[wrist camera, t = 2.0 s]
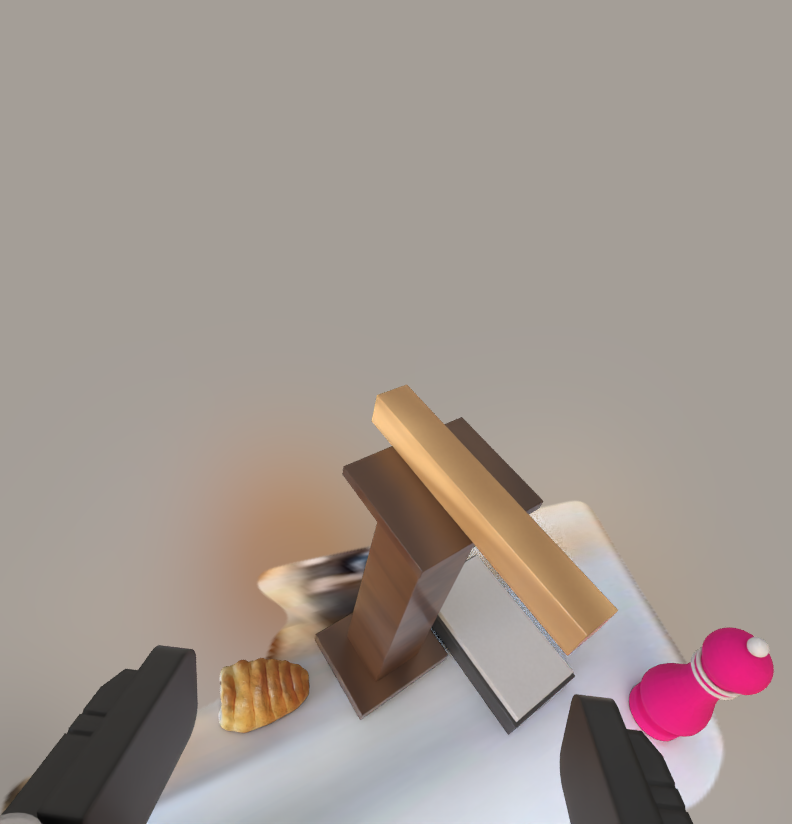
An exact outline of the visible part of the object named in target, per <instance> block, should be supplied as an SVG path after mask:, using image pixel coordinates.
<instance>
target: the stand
mask: <svg viewBox="0 0 792 824" xmlns="http://www.w3.org/2000/svg"><path fill="white" fill-rule="evenodd" d="M444 425H445V426H446V427H447V428H448V429H449V430H450V431H451V432H452V433H453V434H454V435H455V436H456V437H457V439H458V440H459V441H460V442H461V443H462V444H463V445H464V446H465V447H466V448H467V449H468V450H469V451H470V452H471V454H472V455H473V456H474V457H475V458H476V459H477V460H478V461H479V462H480V463H481V464H482V465H483V466H484V467H485V468H486V470H487V471H488V472H489V473H490V474H491V475H492V476H493V477H494V478H495V479H496V480H497V481H498V482H499V483H500V485H501V486H502V487H503V488H504V489H505V490H506V491H507V492H508V493H509V494H510V495H511V496H512V497H513V498H514V499H515V501H516V502H517V503H518V504H519V505H520V506H521V507H522V508H523V509H524V510H525V511H526V512H527V513H528V514H530V513H532V512H534V511H536V510H537V509H539V508H540V506H541V504H542V503H543V500H542V499H541V498H540V497H539V496H538V495H537V494H536V493H535V492H534V491H533V490H532V489H531V488H530V487H529V486H528V485H527V484H526V483H525V482H524V481H523V480H522V479H521V477H520V476H519V475H518V474H517V473H515V471H514V470H513V469H512V468H511V467H510V466H509V465H508V464H507V463H506V462H505V461H504V460H503V459H502V458H501V457H500V456H499V455H498V454H497V453H496V452H495V451H494V450H493V449H492V448H491V447H490V446H489V445H488V444H487V443H486V441H484V439H483V438H481V436H480V435H479V434H478V433H477V432H476V431H475V430H474V429H473V428H472V427H471V426H470V425H469V424H468V423H467V422H466V421H465V420H464V419H463V418H462V417H461V418H459V419H456V420H454V421H451V422H449V423H447V424H444ZM343 476H344V477H345V478H346V480H347V481H348V483H349V484H350V485H351V487H352V488H353V489H354V491H355V492H356V493H357V495H358V496H359V498H360V499H361V500H362V501H363V503H364V504H365V506H366V507H367V509H368V510H369V511H370V513H371V514H372V515H373V517H374V518H375V519H376V521H377V525H376V529H375V533H374V537H373V540H372V544H371V548H370V552H369V555H368V559H367V563H366V567H365V570H364V574H363V578H362V582H361V585H360V589H359V593H358V597H357V600H356V604H355V608H354V612H353V613H351V614H350V615H348V616H346V617H344V618H343V619H341V620H339V621H338V622H336V623H334V624H333V625H331V626H329V627H327V628H326V629H324V630H322V631H321V632H319V633H317V634H316V636H315V641H316V643H317V644H318V646H319V648H320V650H321V651H322V653H323V655H324V657H325V658H326V660H327V662H328V664H329V665H330V667H331V669H332V671H333V672H334V674H335V676H336V678H337V679H338V681H339V683H340V685H341V687H342V688H343V690H344V692H345V694H346V695H347V697H348V699H349V701H350V702H351V704H352V706H353V708H354V709H355V711H356V713H357V715H358V716H359V718H360V720H361V719H363V718H364V717H365V716H367V715H368V714H370V713H371V712H372V711H374V710H375V709H377V708H378V707H379V706H381V705H382V704H384V703H385V702H386V701H388V700H389V699H391V698H392V697H393V696H395V695H396V694H398V693H399V692H400V691H402V690H403V689H405V688H406V687H407V686H409V685H410V684H412V683H413V682H414V681H416V680H417V679H419V678H420V677H421V676H423V675H424V674H426V673H427V672H428V671H430V670H431V669H433V668H434V667H435V666H437V665H438V664H440V663H441V662H442V661H444V660H445V659H446V657H447V656H448V654H447V652H446V651H445V650H444V648H443V647H442V645H441V644H440V642H439V641H438V640H437V638H436V637H435V635H434V634H433V632H432V631H431V630H430V629H431V627H432V625H433V623H434V621H435V619H436V617H437V616H438V614H439V612H440V610H441V608H442V606H443V604H444V602H445V600H446V598H447V596H448V594H449V592H450V590H451V588H452V587H453V585H454V583H455V581H456V579H457V577H458V575H459V573H460V571H461V569H462V567H463V565H464V563H465V561H466V559H467V558H468V556H469V554H470V552H471V550H472V548H473V547H475V545H474V543H473V542H472V541H471V540H470V539H469V537H468V536H467V535H466V534H465V533H464V531H463V530H462V529H461V528H460V527H459V525H458V524H457V523H456V522H455V521H454V519H453V518H452V517H451V516H450V515H449V513H448V512H447V511H446V510H445V509H444V507H443V506H442V505H441V504H440V503H439V501H438V500H437V499H436V498H435V497H434V495H433V494H432V493H431V492H430V491H429V489H428V488H427V487H426V486H425V485H424V483H423V482H422V481H421V480H420V479H419V477H418V476H417V475H416V474H415V473H414V471H413V470H412V469H411V468H410V467H409V465H408V464H407V463H406V462H405V461H404V459H403V458H402V457H401V456H400V455H399V453H398V452H397V451H396V450H395V449H394V447H393V446H391V447H389V448H387V449H384V450H382V451H379V452H377V453H375V454H372V455H370V456H368V457H365V458H363V459H361V460H358V461H356V462H353V463H351V464H348V465H346V466H344V468H343Z"/></svg>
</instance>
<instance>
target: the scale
mask: <svg viewBox="0 0 792 824" xmlns="http://www.w3.org/2000/svg"><path fill="white" fill-rule="evenodd" d="M432 627H433V629H434V630H435V632H436V633H437V634H438V636H439V637H440V639H441V640H442V642H443V643H444V644H445V646H446V647H447V649H448V650H449V651H450V653H451V654H452V656H453V657H454V658H455V660H456V661H457V663H458V664H459V666H460V667H461V668H462V670H463V671H464V673H465V674H466V675H467V677H468V678H469V680H470V681H471V682H472V684H473V685H474V687H475V688H476V690H477V691H478V692H479V694H480V695H481V697H482V698H483V699H484V701H485V702H486V704H487V705H488V706H489V708H490V709H491V711H492V712H493V714H494V715H495V716H496V718H497V719H498V721H499V722H500V723H501V725H502V726H503V728H504V729H505V730H506V732H507V733H508V734H510V733H511V732H512V731H513V730H515V729H516V728H517V727H518V726H519V725H520V724H521V723H523V722H524V721H525V720H526V719H527V718H528V717H529V716H531V715H532V714H533V713H534V712H535V711H536V710H537V709H539V708H540V707H541V706H542V705H543V704H544V703H545V702H547V701H548V700H549V699H550V698H551V697H552V696H553V695H554V694H556V693H557V692H558V691H559V690H560V689H561V688H562V687H564V686H565V685H566V684H567V683H568V682H569V681H570V680H571V679H573V678H574V677H575V675H574V674H573V670H572V669H571V668H570V667H569V665H568V664H567V663H566V662H565V661H564V659H563V658H562V657H561V656H560V655H559V653H558V652H557V651H556V650H555V648H554V647H553V646H552V645H551V644H550V642H549V641H548V640H547V639H546V638H545V636H544V635H543V634H542V633H541V632H540V630H539V629H538V628H537V627H536V625H535V624H534V623H533V622H532V621H531V619H530V618H529V617H528V616H527V615H526V613H525V612H524V611H523V610H522V609H521V607H520V606H519V605H518V604H517V602H516V601H515V600H514V599H513V598H512V596H511V595H510V594H509V593H508V592H507V590H506V589H505V588H504V587H503V586H502V584H501V583H500V582H499V581H498V579H497V578H496V577H495V576H494V575H493V573H492V572H491V571H490V570H489V569H488V567H487V566H486V565H485V564H484V563H483V561H482V560H481V559H480V558H479V556H478V555H475V556H473V557H471V558H470V559H468V560H466V561H465V563H464V565H463V567H462V569H461V571H460V573H459V575H458V577H457V579H456V581H455V583H454V585H453V587H452V588H451V590H450V592H449V594H448V596H447V598H446V600H445V602H444V604H443V606H442V608H441V610H440V612H439V614H438V616H437V617H436V619H435V621H434V623H433V625H432Z"/></svg>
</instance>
